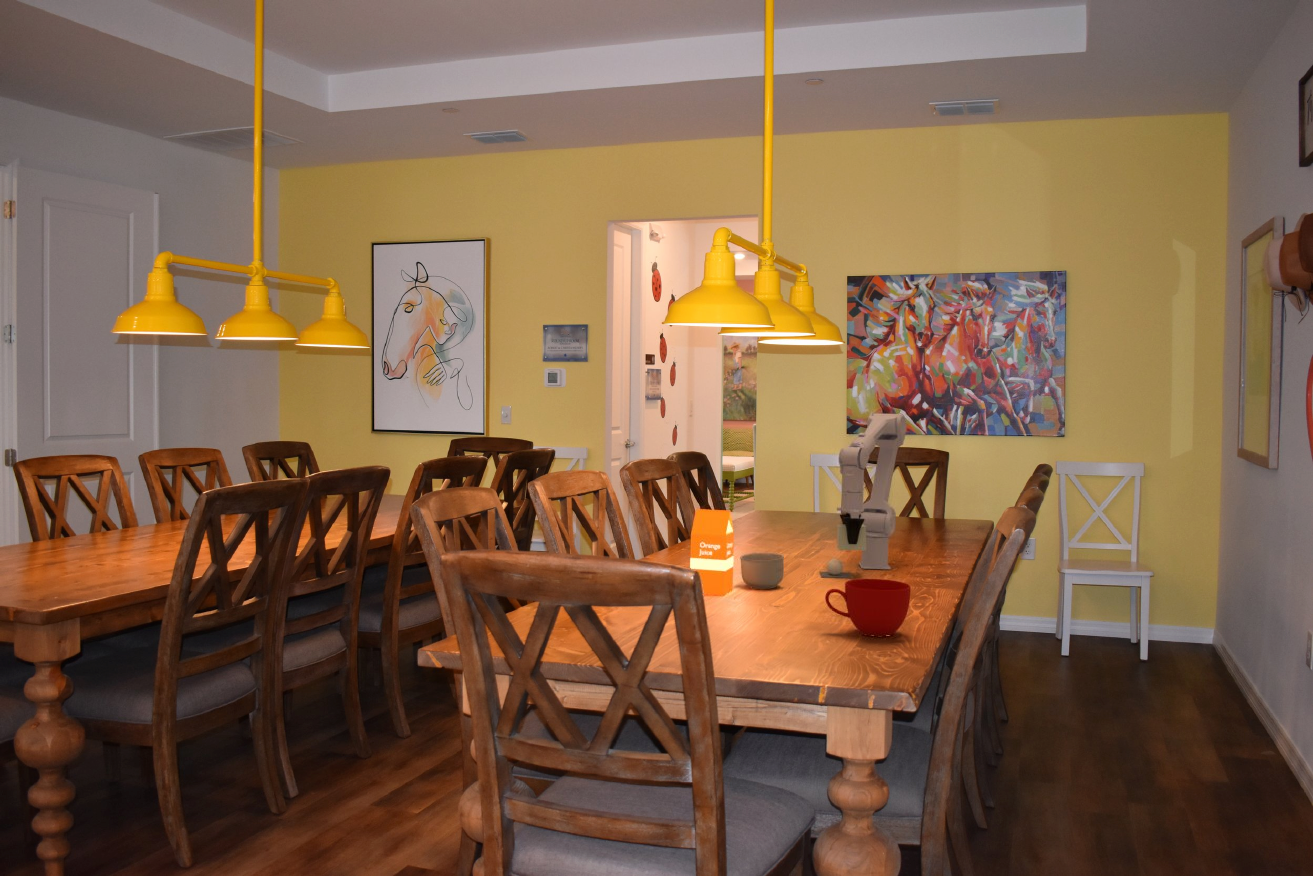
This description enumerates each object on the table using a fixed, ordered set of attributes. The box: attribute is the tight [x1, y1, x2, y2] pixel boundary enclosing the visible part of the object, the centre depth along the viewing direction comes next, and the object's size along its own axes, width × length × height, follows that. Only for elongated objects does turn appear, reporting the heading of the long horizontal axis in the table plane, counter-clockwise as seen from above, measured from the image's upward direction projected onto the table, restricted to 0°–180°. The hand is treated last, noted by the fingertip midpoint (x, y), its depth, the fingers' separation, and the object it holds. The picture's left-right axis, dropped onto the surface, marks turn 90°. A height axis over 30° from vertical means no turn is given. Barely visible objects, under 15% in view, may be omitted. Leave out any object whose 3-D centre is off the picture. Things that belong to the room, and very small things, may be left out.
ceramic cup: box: [824, 578, 912, 636], centre depth 208 cm, size 13×17×10 cm
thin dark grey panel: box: [819, 571, 853, 579], centre depth 276 cm, size 8×8×1 cm
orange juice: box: [689, 508, 735, 597], centre depth 250 cm, size 8×9×20 cm
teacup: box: [739, 552, 785, 590], centre depth 259 cm, size 14×11×8 cm
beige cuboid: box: [836, 523, 866, 552], centre depth 275 cm, size 7×6×6 cm
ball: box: [826, 558, 844, 575], centre depth 276 cm, size 4×4×4 cm
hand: (851, 542), depth 275 cm, fingers closed on beige cuboid, 6 cm apart
